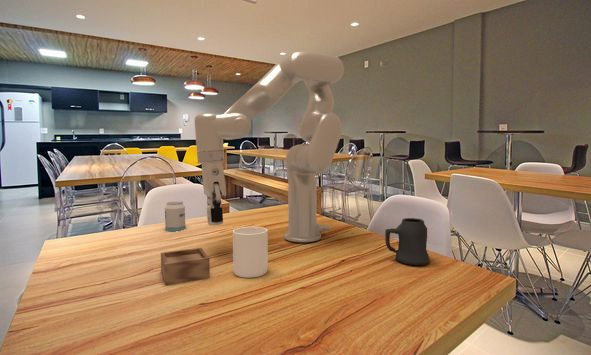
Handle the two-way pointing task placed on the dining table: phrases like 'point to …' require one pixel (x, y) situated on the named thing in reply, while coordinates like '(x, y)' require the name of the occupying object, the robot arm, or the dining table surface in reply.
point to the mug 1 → (250, 251)
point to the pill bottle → (210, 215)
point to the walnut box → (184, 266)
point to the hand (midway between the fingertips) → (215, 219)
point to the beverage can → (174, 216)
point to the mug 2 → (410, 242)
